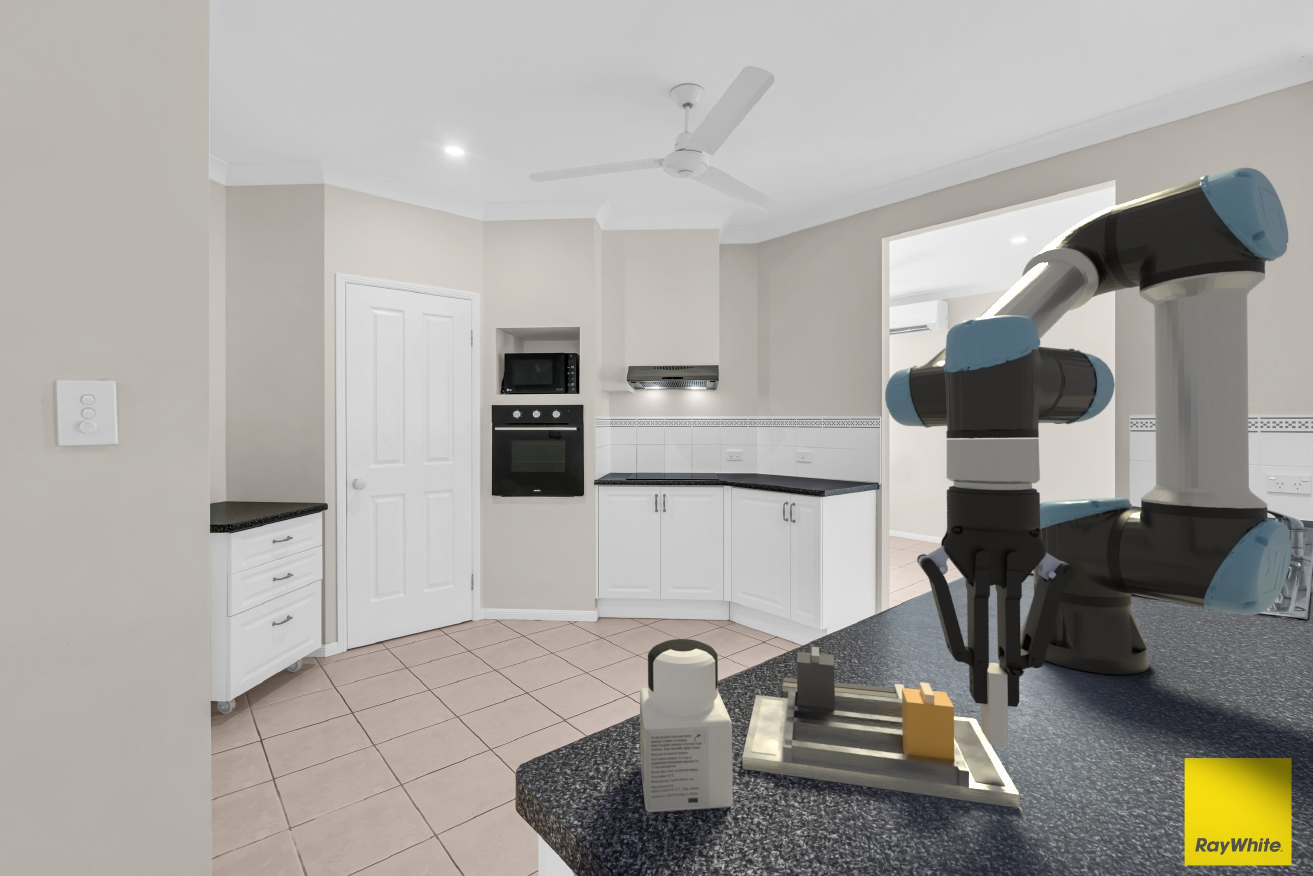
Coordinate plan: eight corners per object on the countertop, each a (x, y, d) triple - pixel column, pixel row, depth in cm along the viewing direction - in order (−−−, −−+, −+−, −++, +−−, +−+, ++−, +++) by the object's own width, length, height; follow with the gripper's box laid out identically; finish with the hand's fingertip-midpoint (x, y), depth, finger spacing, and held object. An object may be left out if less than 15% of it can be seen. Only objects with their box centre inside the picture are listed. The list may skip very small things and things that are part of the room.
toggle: (833, 707, 66) (833, 648, 66) (834, 720, 63) (834, 658, 63) (798, 703, 67) (797, 645, 67) (797, 716, 64) (796, 655, 64)
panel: (975, 729, 63) (975, 706, 63) (1019, 808, 50) (1019, 778, 50) (756, 705, 70) (756, 683, 70) (742, 768, 56) (742, 742, 56)
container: (640, 764, 57) (639, 634, 57) (716, 760, 58) (715, 631, 58) (645, 814, 49) (644, 664, 49) (733, 809, 50) (732, 660, 50)
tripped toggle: (946, 753, 56) (945, 684, 56) (954, 772, 53) (953, 698, 53) (902, 748, 57) (901, 679, 57) (907, 766, 54) (906, 693, 54)
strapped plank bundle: (933, 700, 70) (933, 687, 70) (942, 719, 65) (942, 705, 65) (784, 685, 75) (784, 673, 75) (782, 702, 70) (782, 689, 70)
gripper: (1054, 483, 55) (1057, 727, 55) (909, 481, 59) (912, 711, 59) (1091, 489, 48) (1095, 770, 48) (923, 487, 52) (926, 749, 51)
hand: (994, 737), depth 53 cm, fingers closed
